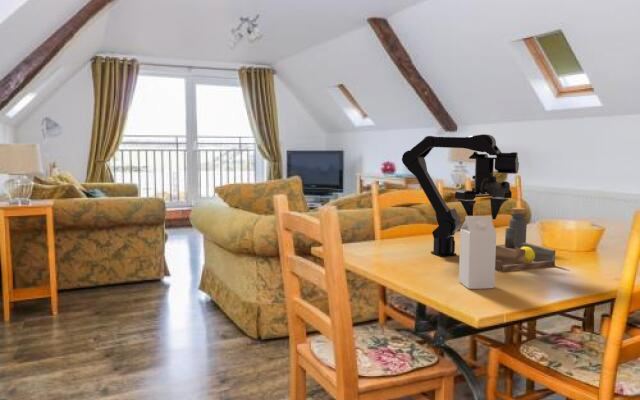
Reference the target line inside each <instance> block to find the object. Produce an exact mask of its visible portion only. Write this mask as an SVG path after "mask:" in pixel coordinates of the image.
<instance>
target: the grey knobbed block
mask: <svg viewBox="0 0 640 400" xmlns="http://www.w3.org/2000/svg"><path fill="white" fill-rule="evenodd" d="M515 237H516V229H515V228H509V227H506V228H505V239H504V244H496V256H495V259H496V260H499V261H503V265H510V264H519V263H525V250H524V249H521V248H517V247H515Z"/></svg>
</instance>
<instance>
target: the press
mask: <svg viewBox="0 0 640 400" xmlns="http://www.w3.org/2000/svg"><path fill="white" fill-rule="evenodd" d="M522 247H530V248H532V250H533V251H534V252H535V259H534V260H533V261H532V262H529V263H519V264H510V265H505V264H503V261H499V260H496V259H495V271H496V270H497V272H499V271H500V272H499V273H502V272H501V271H503V272H511V270H513V271H519V270H520V269H522V270H527V269H528V270H530V268H531V269H539V268H546V267H547V268H548V267H555V266H556V265H555V264H556V249H552V248H548V247H544V246H540V245H535V244H531V243H528V242H526V243H522ZM522 247H521V248H522Z"/></svg>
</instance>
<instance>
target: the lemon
mask: <svg viewBox="0 0 640 400" xmlns="http://www.w3.org/2000/svg"><path fill="white" fill-rule="evenodd" d="M521 249H524V250H525V263H529V262H534V261H533V260H534V259H535V252H534V251H533V250H532V248H530V247H522V248H521Z"/></svg>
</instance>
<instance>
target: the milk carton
mask: <svg viewBox="0 0 640 400" xmlns="http://www.w3.org/2000/svg"><path fill="white" fill-rule="evenodd" d="M464 219H465V220H464V221H463V223H462V224H461V226H460V228H459V230H460V234H459V264H458V265H459V267H458V268H459V269H458V272H459V273H458V283H460V284H461V285H463V286H464V287H466V288H467V289H469V290H474V289H475V290H476V289H477V290H479V289H482V290H483V289H495V281H496V280H495V279H496V270H495V256H496V245H497V230H496V228H495V226H494V223H493V219H492V215H473V216H467V215H466V216H465V218H464Z"/></svg>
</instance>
